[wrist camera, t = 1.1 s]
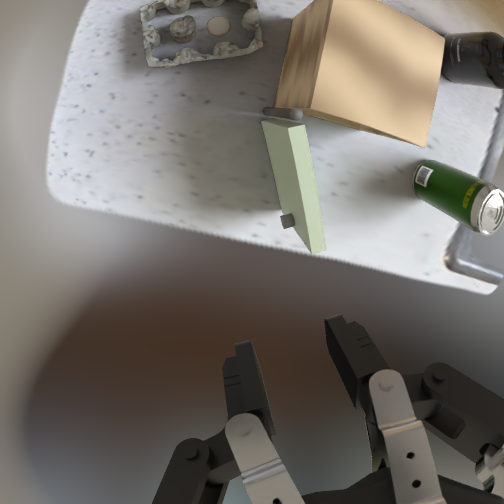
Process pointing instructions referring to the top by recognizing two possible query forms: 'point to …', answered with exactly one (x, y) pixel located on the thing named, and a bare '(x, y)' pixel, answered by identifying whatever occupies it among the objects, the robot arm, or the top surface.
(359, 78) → the cupboard
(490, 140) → the top surface
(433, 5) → the top surface
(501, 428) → the robot arm
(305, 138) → the door
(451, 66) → the supplement bottle
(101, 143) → the top surface
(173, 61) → the egg carton
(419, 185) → the beer can
